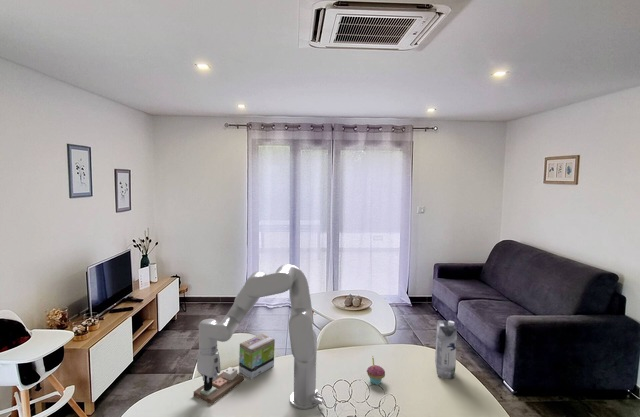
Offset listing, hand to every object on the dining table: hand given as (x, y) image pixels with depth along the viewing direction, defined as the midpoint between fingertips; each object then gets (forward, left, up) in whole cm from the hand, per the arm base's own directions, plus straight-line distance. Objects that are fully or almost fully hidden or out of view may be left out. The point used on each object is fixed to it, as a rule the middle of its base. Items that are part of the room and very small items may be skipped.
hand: (208, 388), depth 145 cm
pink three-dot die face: (0, -7, -3) cm, 7 cm away
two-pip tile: (0, -13, -1) cm, 13 cm away
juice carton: (-87, -72, -3) cm, 113 cm away
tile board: (0, -7, -3) cm, 7 cm away
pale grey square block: (0, 0, -3) cm, 3 cm away
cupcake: (-60, -48, -3) cm, 77 cm away
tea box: (-5, -27, -3) cm, 28 cm away
